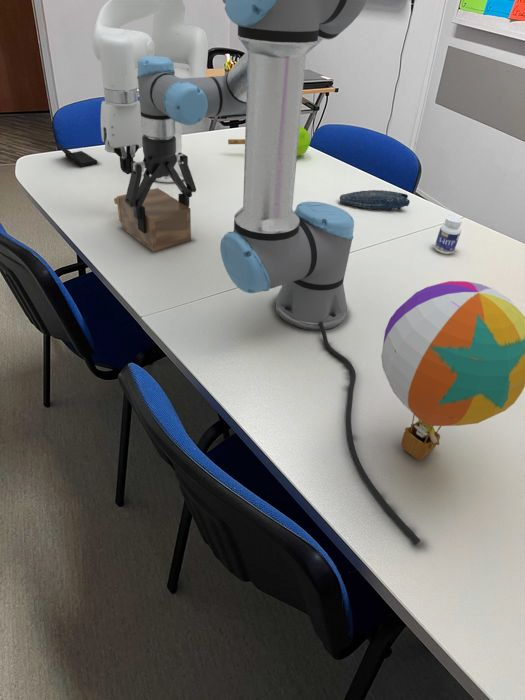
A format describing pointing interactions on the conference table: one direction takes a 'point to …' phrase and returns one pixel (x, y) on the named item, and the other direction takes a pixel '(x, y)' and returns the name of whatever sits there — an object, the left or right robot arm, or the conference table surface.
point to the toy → (453, 358)
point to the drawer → (117, 201)
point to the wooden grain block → (158, 221)
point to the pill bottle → (448, 235)
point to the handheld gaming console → (78, 156)
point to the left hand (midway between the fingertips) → (127, 172)
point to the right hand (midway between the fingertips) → (163, 225)
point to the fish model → (376, 199)
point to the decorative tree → (302, 141)
